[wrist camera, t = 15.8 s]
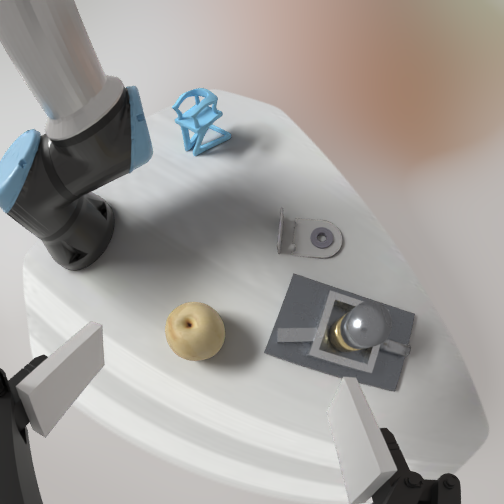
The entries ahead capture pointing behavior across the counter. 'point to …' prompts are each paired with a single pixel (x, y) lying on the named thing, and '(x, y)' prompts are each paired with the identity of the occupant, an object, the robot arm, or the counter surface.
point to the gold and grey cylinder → (361, 327)
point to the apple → (195, 331)
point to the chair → (199, 120)
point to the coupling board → (318, 340)
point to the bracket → (313, 238)
